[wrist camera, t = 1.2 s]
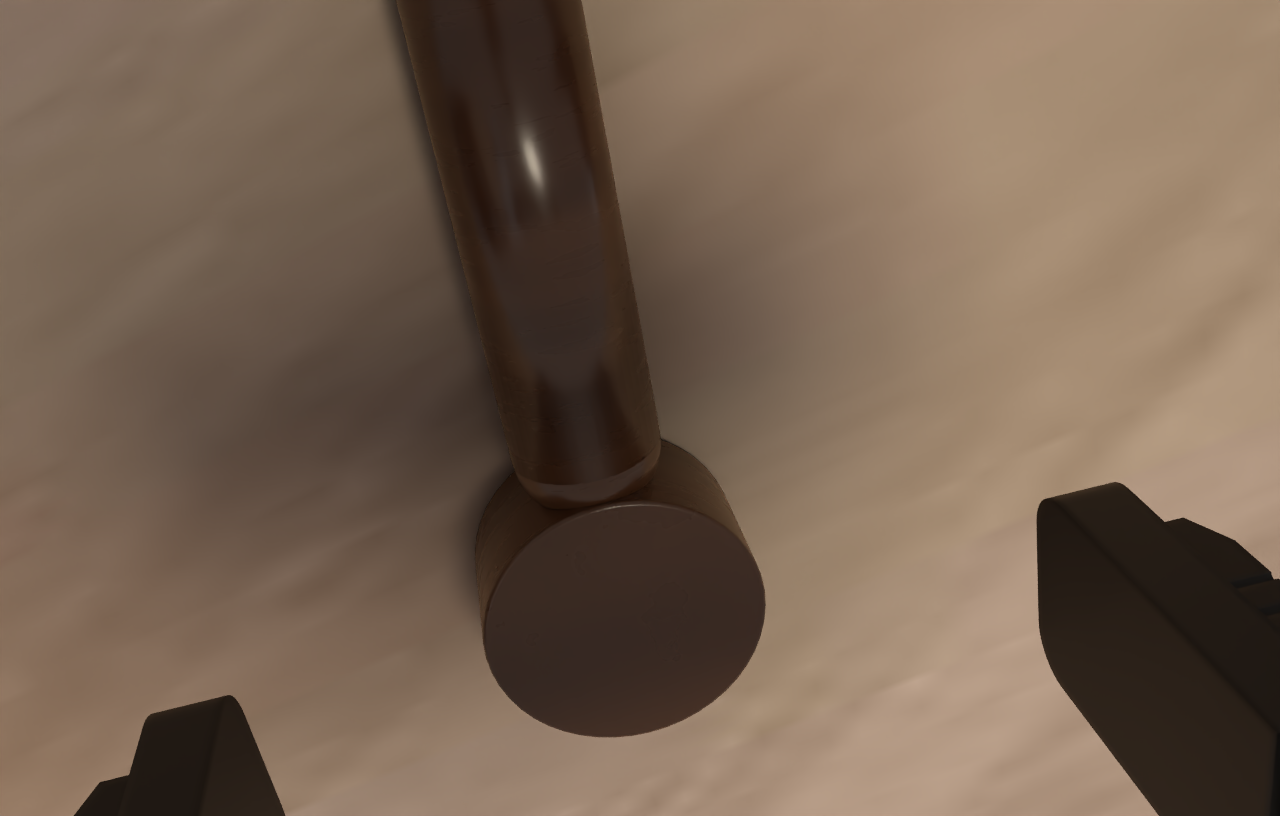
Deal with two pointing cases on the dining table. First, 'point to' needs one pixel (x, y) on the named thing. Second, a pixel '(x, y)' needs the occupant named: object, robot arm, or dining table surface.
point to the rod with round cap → (573, 393)
